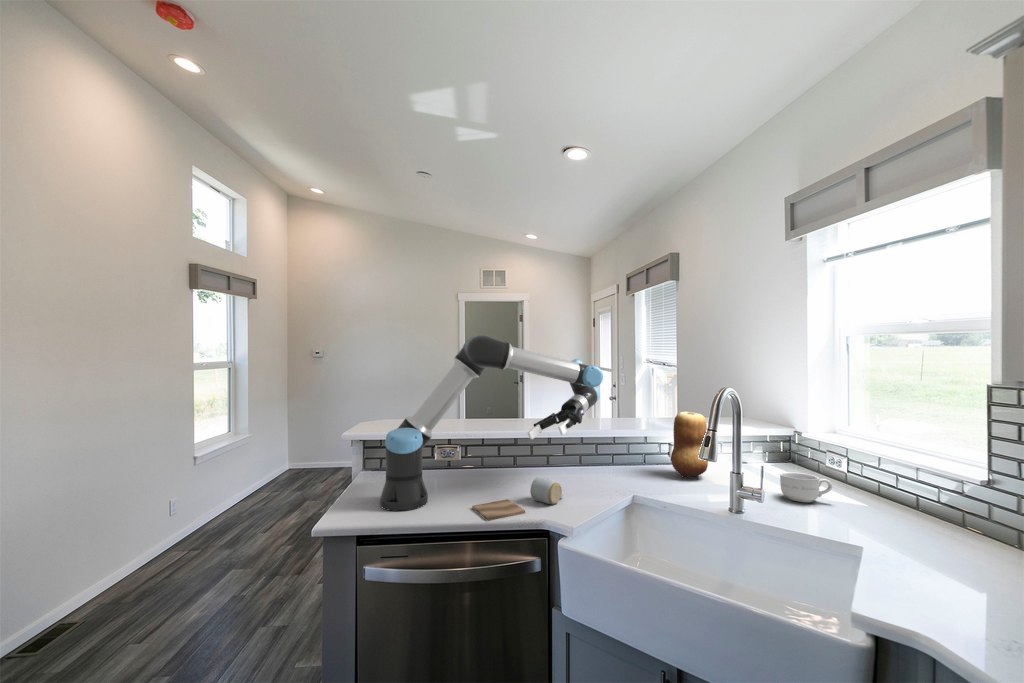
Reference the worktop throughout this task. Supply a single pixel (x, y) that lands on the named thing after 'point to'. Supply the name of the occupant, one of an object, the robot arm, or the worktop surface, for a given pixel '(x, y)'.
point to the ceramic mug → (546, 490)
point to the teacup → (802, 486)
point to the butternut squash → (688, 444)
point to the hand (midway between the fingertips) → (544, 433)
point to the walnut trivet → (498, 509)
